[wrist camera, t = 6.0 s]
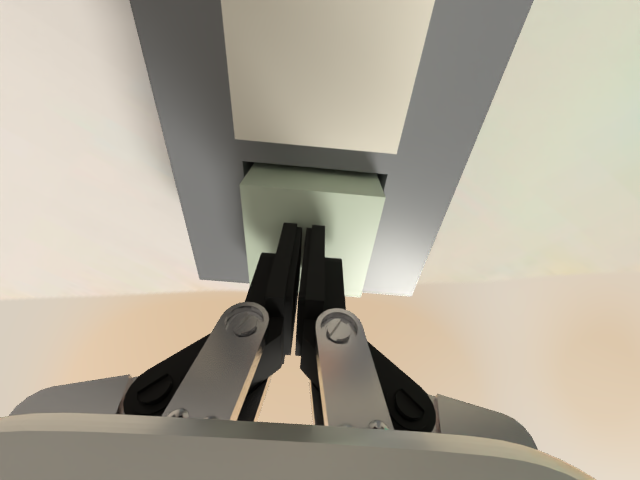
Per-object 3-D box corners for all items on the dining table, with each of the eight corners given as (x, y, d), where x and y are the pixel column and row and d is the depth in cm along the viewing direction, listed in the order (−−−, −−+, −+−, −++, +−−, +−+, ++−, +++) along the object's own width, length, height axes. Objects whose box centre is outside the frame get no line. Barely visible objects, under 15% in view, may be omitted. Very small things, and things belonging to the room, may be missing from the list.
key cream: (418, -49, 8) (459, -96, 6) (381, 131, 11) (396, 154, 9) (246, -68, 8) (208, -125, 6) (256, 119, 11) (234, 138, 9)
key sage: (373, 166, 12) (385, 197, 10) (355, 256, 15) (360, 297, 13) (258, 156, 12) (239, 184, 10) (263, 248, 15) (250, 288, 13)
